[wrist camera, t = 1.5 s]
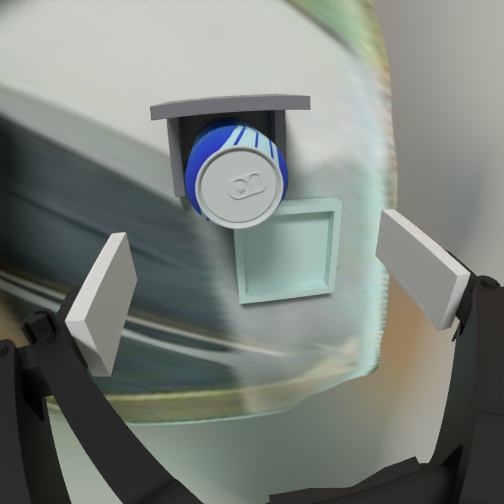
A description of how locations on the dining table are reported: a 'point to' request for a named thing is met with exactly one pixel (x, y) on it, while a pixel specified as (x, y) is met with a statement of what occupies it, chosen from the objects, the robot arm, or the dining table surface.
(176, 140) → the bay
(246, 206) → the beer can
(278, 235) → the tray
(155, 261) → the dining table surface
